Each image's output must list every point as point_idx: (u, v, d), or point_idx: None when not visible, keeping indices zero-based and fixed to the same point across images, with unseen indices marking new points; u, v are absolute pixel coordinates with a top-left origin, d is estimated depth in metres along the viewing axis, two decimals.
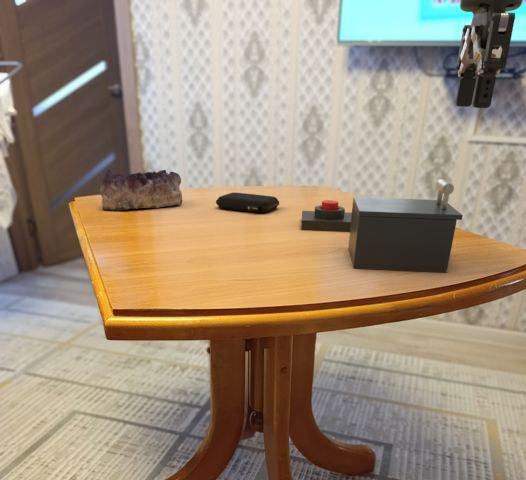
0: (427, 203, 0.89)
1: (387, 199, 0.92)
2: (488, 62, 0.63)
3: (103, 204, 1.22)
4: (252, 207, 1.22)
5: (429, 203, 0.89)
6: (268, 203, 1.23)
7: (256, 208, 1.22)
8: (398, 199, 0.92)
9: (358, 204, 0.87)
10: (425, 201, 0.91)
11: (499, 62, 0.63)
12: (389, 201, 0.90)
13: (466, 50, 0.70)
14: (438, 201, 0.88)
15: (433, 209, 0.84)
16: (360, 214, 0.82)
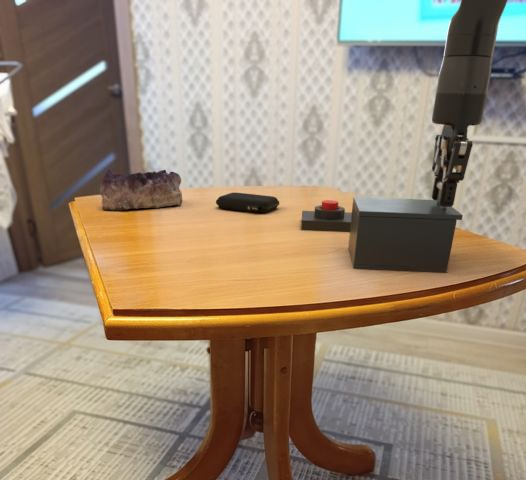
0: (427, 203, 0.89)
1: (387, 199, 0.92)
2: (449, 176, 0.79)
3: (103, 204, 1.22)
4: (252, 207, 1.22)
5: (429, 203, 0.89)
6: (268, 203, 1.23)
7: (256, 208, 1.22)
8: (398, 199, 0.92)
9: (358, 204, 0.87)
10: (425, 201, 0.91)
11: (458, 176, 0.79)
12: (389, 201, 0.90)
13: (439, 153, 0.84)
14: (438, 201, 0.88)
15: (433, 209, 0.84)
16: (360, 214, 0.82)
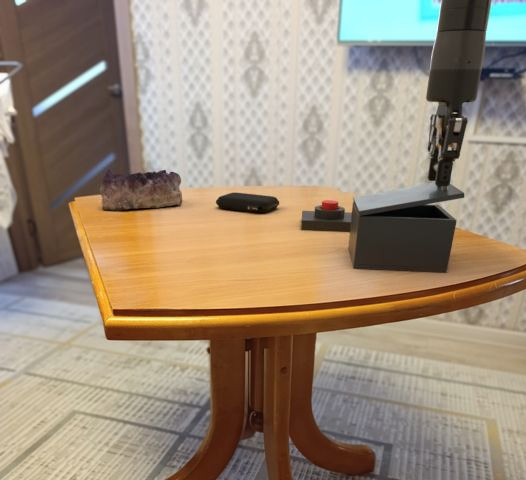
0: (427, 187, 0.88)
1: (387, 192, 0.91)
2: (445, 154, 0.78)
3: (103, 204, 1.22)
4: (252, 207, 1.22)
5: (429, 187, 0.88)
6: (268, 203, 1.23)
7: (256, 208, 1.22)
8: (398, 189, 0.91)
9: (357, 204, 0.87)
10: (425, 186, 0.90)
11: (454, 154, 0.78)
12: (389, 194, 0.89)
13: (434, 133, 0.83)
14: None
15: (434, 193, 0.83)
16: (360, 214, 0.82)
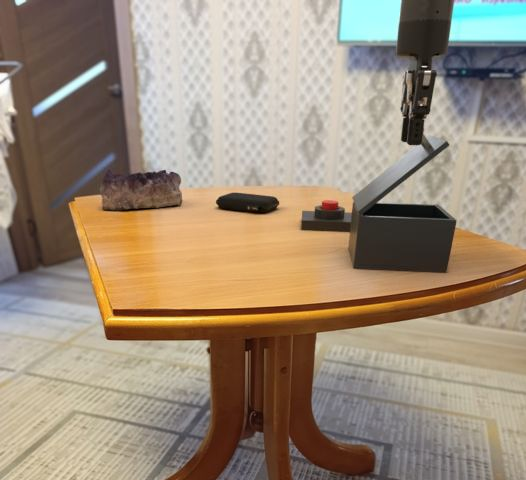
0: (414, 152, 0.86)
1: (380, 176, 0.90)
2: (415, 109, 0.75)
3: (103, 204, 1.23)
4: (252, 207, 1.22)
5: (416, 150, 0.85)
6: (268, 203, 1.23)
7: (256, 208, 1.22)
8: (389, 168, 0.90)
9: (356, 203, 0.87)
10: (412, 150, 0.87)
11: (424, 109, 0.75)
12: (381, 177, 0.88)
13: (405, 90, 0.81)
14: (422, 143, 0.84)
15: (420, 155, 0.81)
16: (360, 213, 0.82)
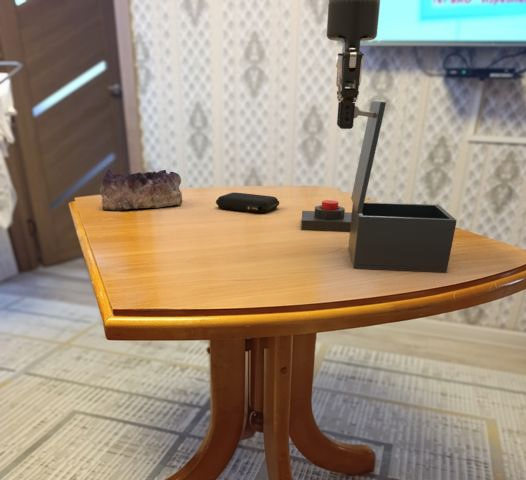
0: (368, 125, 0.84)
1: (358, 165, 0.89)
2: (343, 92, 0.75)
3: (103, 204, 1.23)
4: (252, 207, 1.22)
5: (369, 123, 0.84)
6: (268, 203, 1.23)
7: (256, 208, 1.22)
8: (361, 153, 0.89)
9: (354, 204, 0.87)
10: (367, 125, 0.86)
11: (352, 92, 0.75)
12: (359, 166, 0.88)
13: None
14: None
15: (372, 128, 0.80)
16: (360, 212, 0.82)
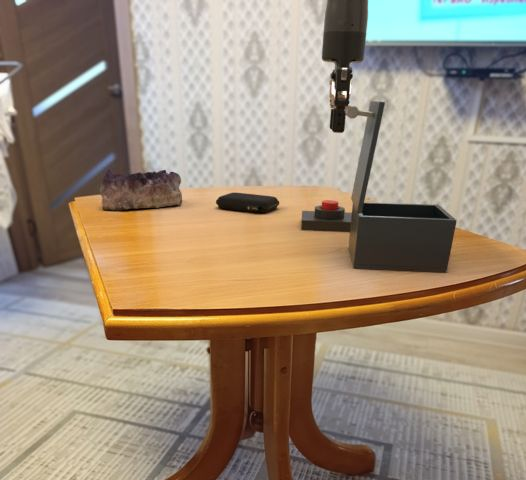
0: (368, 125, 0.84)
1: (358, 165, 0.89)
2: (336, 101, 0.88)
3: (103, 204, 1.23)
4: (252, 207, 1.22)
5: (368, 123, 0.84)
6: (268, 203, 1.23)
7: (256, 208, 1.22)
8: (360, 153, 0.89)
9: (354, 204, 0.87)
10: (366, 125, 0.86)
11: (343, 101, 0.88)
12: (359, 166, 0.88)
13: (331, 89, 0.95)
14: None
15: (371, 128, 0.80)
16: (360, 212, 0.82)
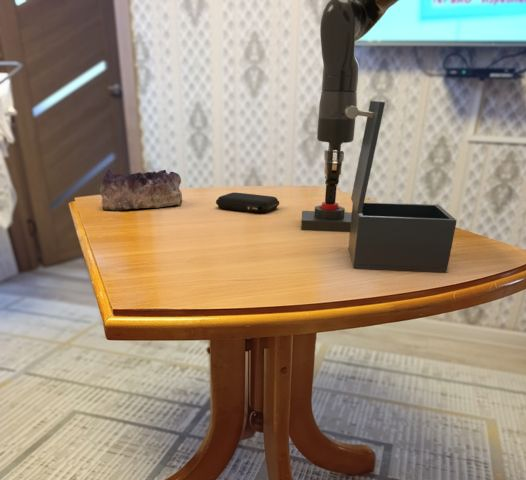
0: (368, 125, 0.84)
1: (358, 165, 0.89)
2: (327, 181, 1.06)
3: (103, 204, 1.23)
4: (252, 207, 1.22)
5: (368, 123, 0.84)
6: (268, 203, 1.23)
7: (256, 208, 1.22)
8: (360, 153, 0.89)
9: (354, 204, 0.87)
10: (366, 125, 0.86)
11: (334, 181, 1.06)
12: (359, 166, 0.88)
13: None
14: None
15: (371, 128, 0.80)
16: (360, 212, 0.82)
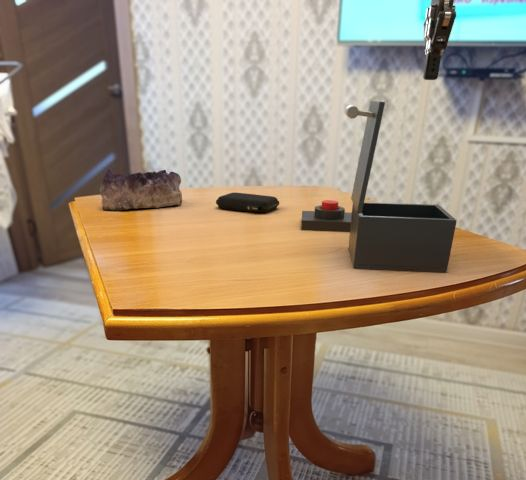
0: (368, 125, 0.84)
1: (358, 165, 0.89)
2: (433, 44, 0.84)
3: (103, 204, 1.23)
4: (252, 207, 1.22)
5: (368, 123, 0.84)
6: (268, 203, 1.23)
7: (256, 208, 1.22)
8: (360, 153, 0.89)
9: (354, 204, 0.87)
10: (366, 125, 0.86)
11: (441, 44, 0.84)
12: (359, 166, 0.88)
13: (428, 25, 0.86)
14: None
15: (371, 128, 0.80)
16: (360, 212, 0.82)
